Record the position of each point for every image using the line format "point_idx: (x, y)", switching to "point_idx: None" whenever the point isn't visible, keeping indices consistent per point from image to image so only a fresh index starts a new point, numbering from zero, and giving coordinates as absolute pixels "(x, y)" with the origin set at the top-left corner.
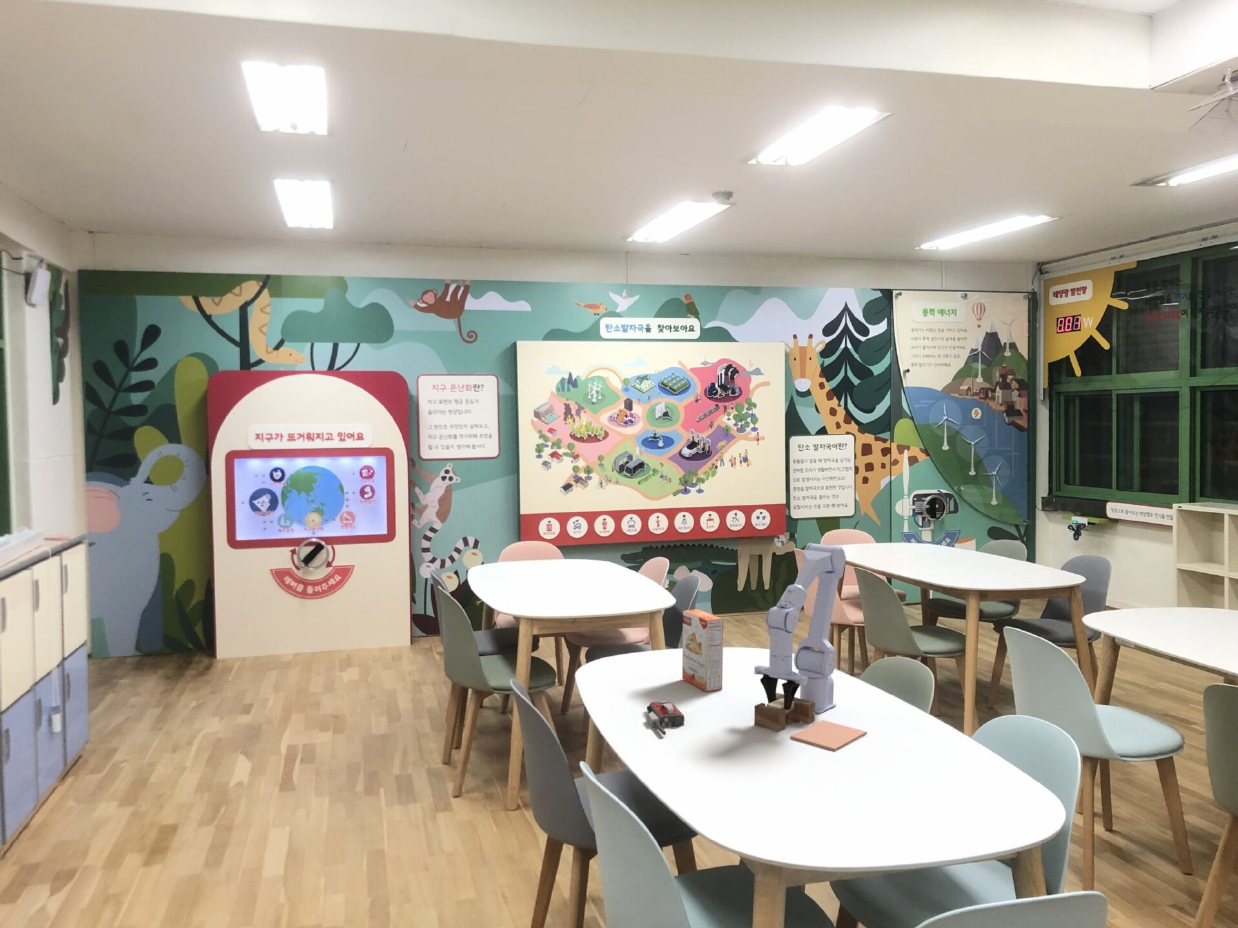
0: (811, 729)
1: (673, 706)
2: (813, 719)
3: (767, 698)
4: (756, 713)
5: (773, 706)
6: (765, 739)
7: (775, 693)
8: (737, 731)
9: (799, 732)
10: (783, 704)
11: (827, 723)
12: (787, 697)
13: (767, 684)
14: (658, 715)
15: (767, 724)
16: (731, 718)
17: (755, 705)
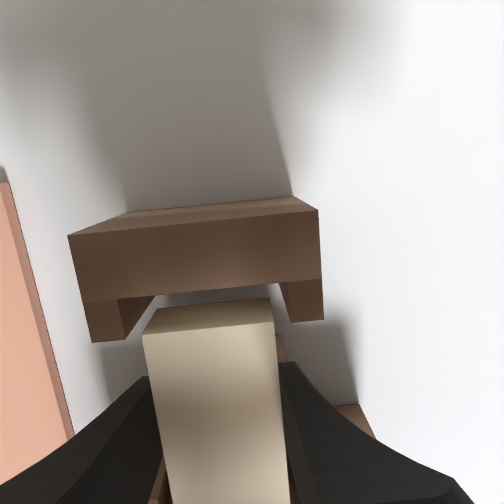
0: (15, 361)
1: None
2: None
3: (309, 382)
4: (289, 205)
5: (208, 326)
6: (78, 38)
7: (296, 488)
8: (291, 10)
9: (13, 272)
10: (182, 412)
11: None
12: (69, 441)
13: (319, 477)
14: None
15: (196, 207)
16: (461, 181)
17: (315, 218)
